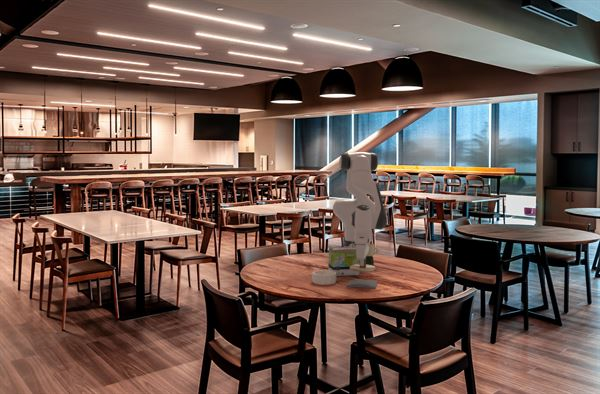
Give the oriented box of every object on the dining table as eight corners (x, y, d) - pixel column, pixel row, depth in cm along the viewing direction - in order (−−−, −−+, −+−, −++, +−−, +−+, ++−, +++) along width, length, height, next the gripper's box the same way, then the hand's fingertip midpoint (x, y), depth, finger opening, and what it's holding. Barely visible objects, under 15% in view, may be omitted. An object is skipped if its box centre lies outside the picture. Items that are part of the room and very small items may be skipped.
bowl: (315, 278, 271) (315, 269, 271) (337, 280, 269) (337, 270, 268) (310, 284, 260) (310, 274, 259) (333, 285, 257) (333, 275, 257)
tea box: (334, 276, 275) (334, 249, 274) (328, 272, 285) (328, 246, 283) (360, 275, 279) (360, 248, 278) (353, 271, 289) (353, 245, 287)
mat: (351, 280, 268) (351, 278, 268) (378, 281, 264) (378, 280, 264) (346, 286, 254) (347, 285, 254) (375, 288, 251) (375, 287, 251)
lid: (351, 265, 267) (351, 256, 267) (376, 266, 264) (376, 257, 263) (348, 270, 255) (348, 261, 254) (374, 272, 251) (374, 263, 251)
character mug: (378, 265, 304) (378, 243, 303) (377, 268, 297) (377, 245, 296) (359, 264, 306) (360, 243, 305) (358, 267, 299) (359, 245, 298)
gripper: (359, 233, 268) (359, 259, 270) (354, 241, 249) (353, 268, 250) (371, 234, 267) (371, 260, 268) (367, 241, 247) (366, 269, 249)
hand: (362, 264), depth 259 cm, fingers closed on lid, 3 cm apart
